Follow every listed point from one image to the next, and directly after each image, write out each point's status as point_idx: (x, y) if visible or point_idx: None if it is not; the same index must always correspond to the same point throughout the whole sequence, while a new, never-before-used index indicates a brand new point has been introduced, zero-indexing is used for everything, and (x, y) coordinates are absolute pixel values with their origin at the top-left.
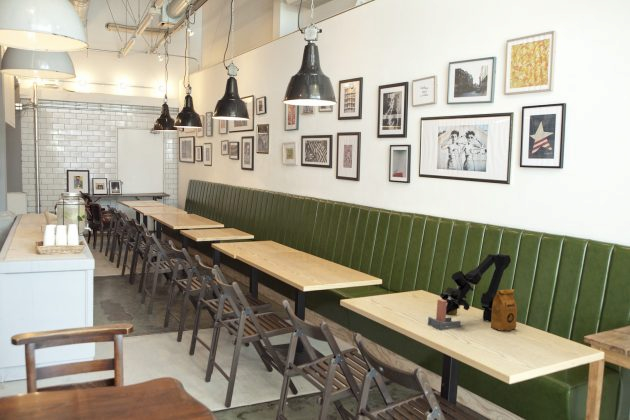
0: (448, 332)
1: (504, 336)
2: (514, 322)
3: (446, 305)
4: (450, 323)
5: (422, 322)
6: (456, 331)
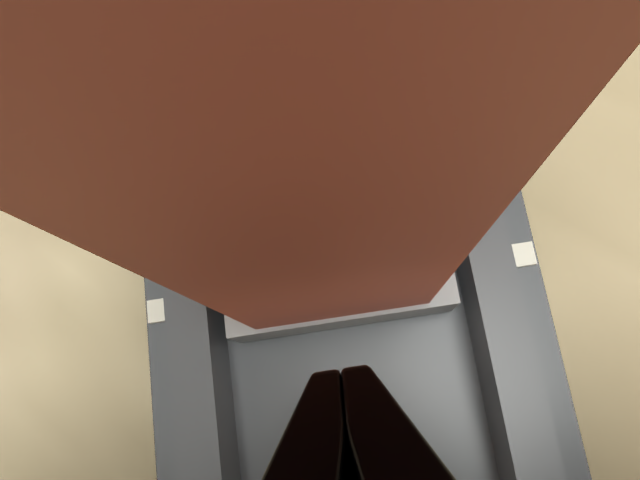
0: (13, 232)
1: None
2: None
3: (21, 215)
4: (178, 424)
5: (620, 78)
6: (9, 417)
